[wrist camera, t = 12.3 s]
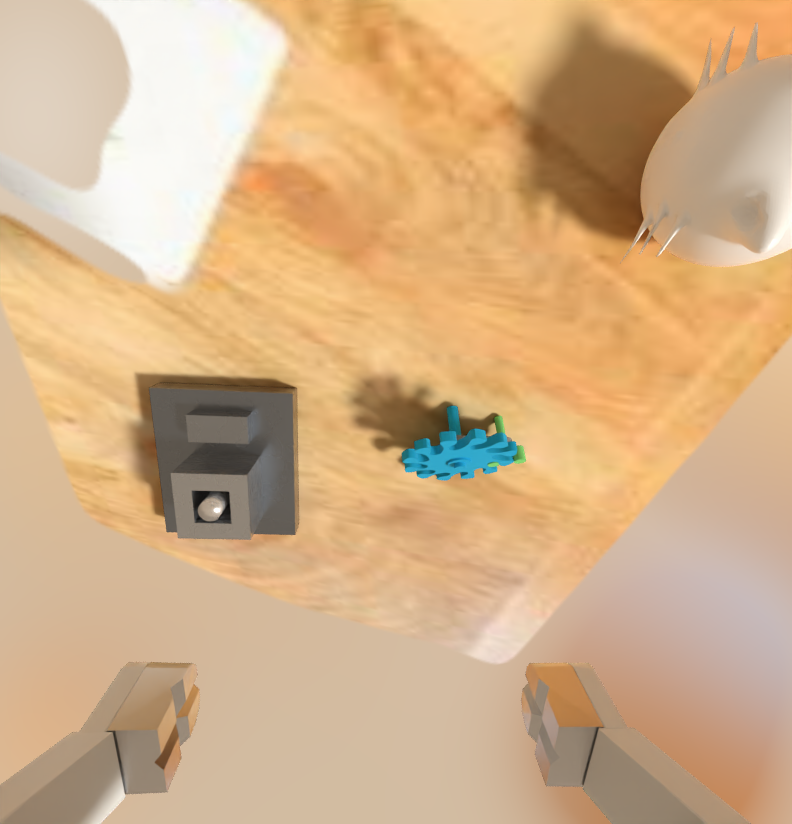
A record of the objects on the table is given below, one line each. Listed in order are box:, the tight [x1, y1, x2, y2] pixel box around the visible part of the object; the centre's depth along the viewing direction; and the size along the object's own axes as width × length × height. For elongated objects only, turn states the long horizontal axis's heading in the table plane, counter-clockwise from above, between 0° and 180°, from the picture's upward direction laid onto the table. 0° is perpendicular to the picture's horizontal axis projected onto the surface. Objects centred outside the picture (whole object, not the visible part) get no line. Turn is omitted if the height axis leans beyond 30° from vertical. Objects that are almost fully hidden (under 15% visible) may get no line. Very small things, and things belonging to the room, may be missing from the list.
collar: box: [171, 454, 263, 540], centre depth 36 cm, size 6×6×4 cm
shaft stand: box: [149, 383, 299, 535], centre depth 36 cm, size 14×12×6 cm
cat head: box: [620, 22, 792, 267], centre depth 28 cm, size 15×13×12 cm
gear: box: [402, 406, 526, 480], centre depth 37 cm, size 11×6×10 cm
